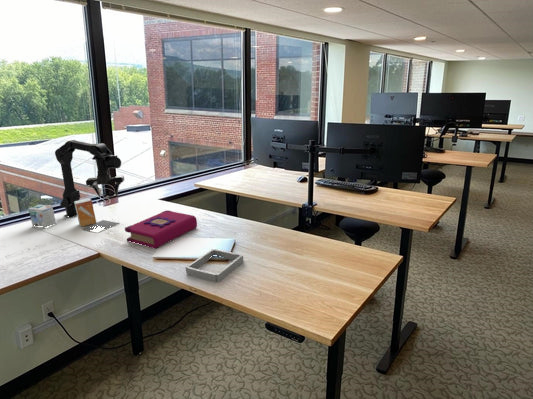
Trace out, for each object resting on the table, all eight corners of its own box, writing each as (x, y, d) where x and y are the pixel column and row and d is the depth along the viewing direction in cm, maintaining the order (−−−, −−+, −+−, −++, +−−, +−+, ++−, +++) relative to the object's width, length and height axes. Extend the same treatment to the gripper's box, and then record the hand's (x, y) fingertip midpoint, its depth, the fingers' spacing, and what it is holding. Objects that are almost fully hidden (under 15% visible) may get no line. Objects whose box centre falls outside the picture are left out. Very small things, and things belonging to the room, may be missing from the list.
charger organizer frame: (185, 274, 150) (184, 267, 149) (213, 254, 166) (212, 248, 165) (218, 282, 143) (217, 275, 142) (244, 261, 158) (243, 254, 158)
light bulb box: (32, 226, 209) (27, 208, 206) (43, 222, 215) (38, 204, 212) (46, 228, 205) (41, 209, 202) (57, 224, 211) (52, 205, 208)
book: (197, 228, 196) (196, 214, 194) (156, 250, 174) (154, 234, 172) (168, 222, 207) (166, 209, 205) (125, 241, 185) (123, 227, 182)
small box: (80, 227, 205) (75, 203, 201) (79, 224, 210) (73, 201, 206) (97, 223, 209) (91, 200, 205) (94, 220, 214) (89, 197, 210)
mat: (80, 229, 202) (80, 228, 202) (103, 220, 213) (103, 219, 213) (97, 233, 196) (97, 232, 196) (119, 223, 207) (119, 223, 207)
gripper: (80, 172, 197) (86, 201, 202) (118, 169, 199) (123, 198, 204) (86, 167, 207) (91, 195, 212) (122, 164, 210) (126, 192, 215)
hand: (108, 195), depth 211 cm, fingers open, 9 cm apart
